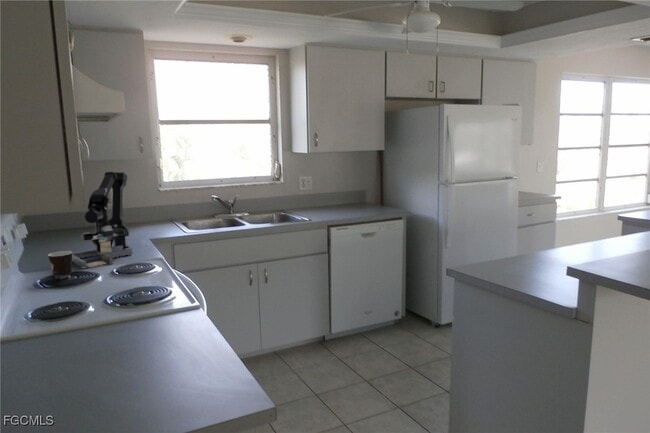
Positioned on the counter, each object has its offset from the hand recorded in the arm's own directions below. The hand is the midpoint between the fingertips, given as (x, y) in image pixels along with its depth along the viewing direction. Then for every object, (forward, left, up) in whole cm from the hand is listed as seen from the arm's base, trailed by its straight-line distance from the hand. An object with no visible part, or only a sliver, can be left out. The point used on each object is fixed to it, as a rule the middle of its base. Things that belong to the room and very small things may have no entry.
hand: (104, 251), depth 226 cm
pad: (+12, -8, -3) cm, 15 cm away
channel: (+5, -2, -3) cm, 6 cm away
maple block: (0, 0, -1) cm, 1 cm away
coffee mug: (+24, -25, -3) cm, 35 cm away
